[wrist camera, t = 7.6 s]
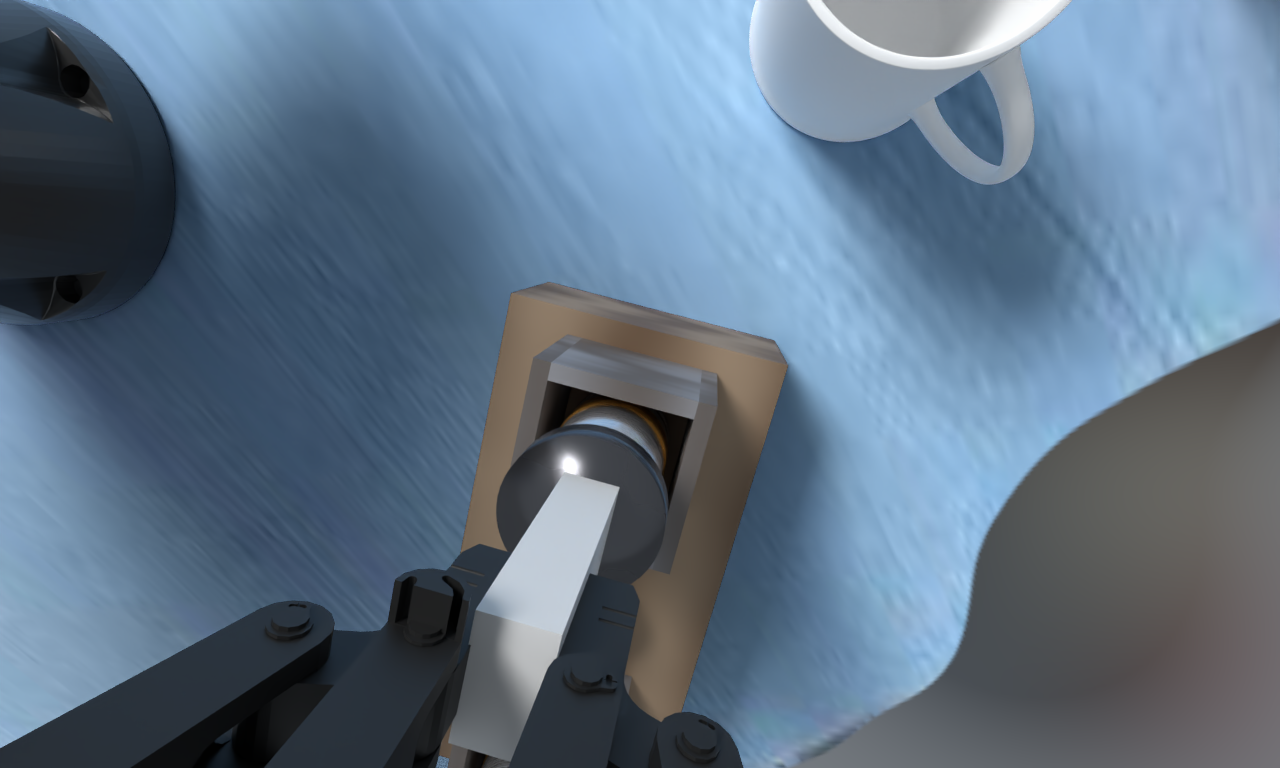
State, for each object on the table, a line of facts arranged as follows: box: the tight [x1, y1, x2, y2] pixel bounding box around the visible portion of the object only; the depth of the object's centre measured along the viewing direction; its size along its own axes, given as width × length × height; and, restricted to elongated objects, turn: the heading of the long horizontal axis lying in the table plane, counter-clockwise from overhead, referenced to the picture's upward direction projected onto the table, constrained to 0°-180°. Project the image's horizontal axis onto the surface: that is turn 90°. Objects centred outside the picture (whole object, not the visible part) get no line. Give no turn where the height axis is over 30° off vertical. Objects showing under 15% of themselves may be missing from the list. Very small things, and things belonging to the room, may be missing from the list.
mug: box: [749, 0, 1072, 185], centre depth 22 cm, size 12×8×12 cm
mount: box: [439, 282, 788, 768], centre depth 28 cm, size 11×22×11 cm, turn 166°
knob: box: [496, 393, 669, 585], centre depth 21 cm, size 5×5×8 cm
